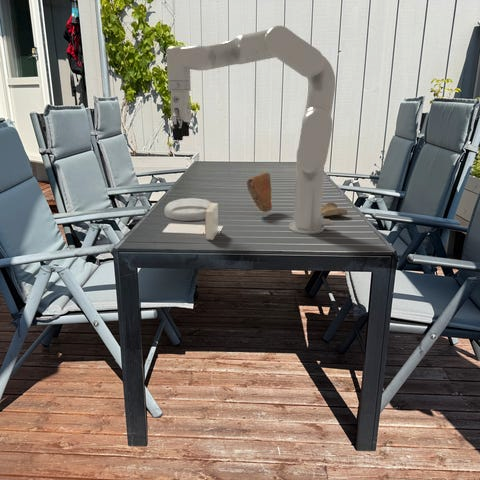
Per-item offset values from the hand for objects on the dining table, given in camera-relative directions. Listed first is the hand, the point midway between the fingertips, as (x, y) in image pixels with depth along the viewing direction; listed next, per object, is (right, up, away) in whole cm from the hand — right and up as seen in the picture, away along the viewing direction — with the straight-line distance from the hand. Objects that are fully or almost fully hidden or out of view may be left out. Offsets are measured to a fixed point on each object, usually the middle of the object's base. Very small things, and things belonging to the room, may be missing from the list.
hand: (181, 138), depth 159 cm
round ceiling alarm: (+1, -27, +24) cm, 36 cm away
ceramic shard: (+32, -24, +25) cm, 47 cm away
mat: (+3, -34, -1) cm, 34 cm away
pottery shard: (+58, -26, +18) cm, 66 cm away
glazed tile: (+11, -34, -3) cm, 36 cm away
